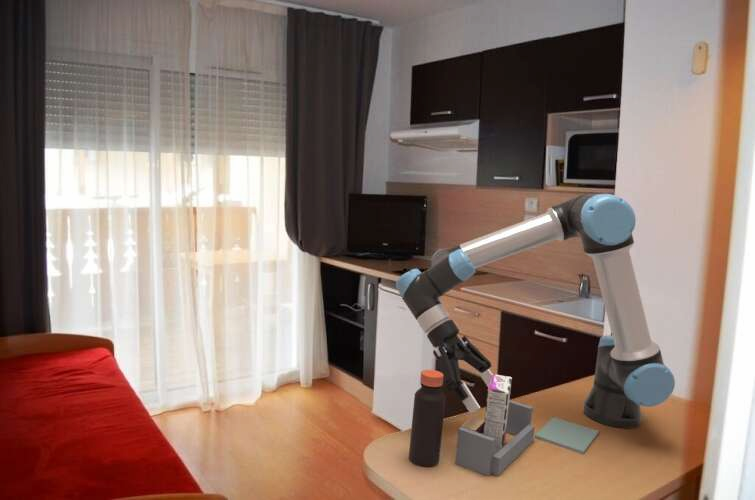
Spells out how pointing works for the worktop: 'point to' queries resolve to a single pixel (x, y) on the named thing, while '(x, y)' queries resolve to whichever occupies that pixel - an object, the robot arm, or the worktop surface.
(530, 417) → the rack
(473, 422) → the offcut stack
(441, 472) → the worktop surface
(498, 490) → the worktop surface
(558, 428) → the mat
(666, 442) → the worktop surface
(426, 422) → the bottle
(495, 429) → the candy bar box
